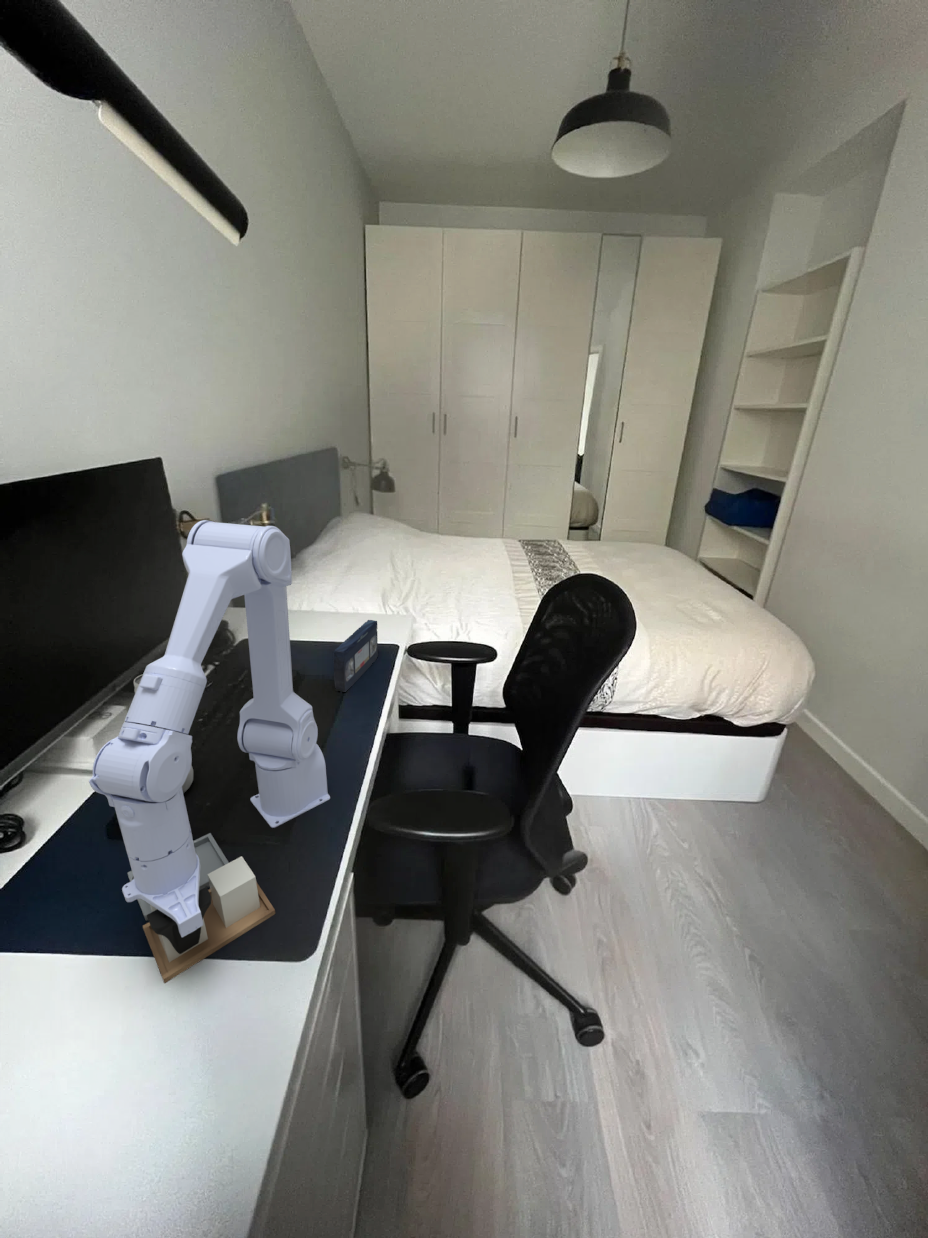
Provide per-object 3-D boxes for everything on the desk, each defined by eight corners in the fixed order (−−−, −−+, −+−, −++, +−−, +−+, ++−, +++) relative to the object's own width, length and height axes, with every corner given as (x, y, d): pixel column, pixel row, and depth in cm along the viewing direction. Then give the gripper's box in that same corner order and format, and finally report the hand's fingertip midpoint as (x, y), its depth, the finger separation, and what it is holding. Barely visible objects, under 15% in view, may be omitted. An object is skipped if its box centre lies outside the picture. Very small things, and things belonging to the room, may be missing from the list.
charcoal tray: (211, 839, 71) (210, 832, 71) (233, 875, 66) (232, 868, 66) (129, 879, 65) (127, 872, 64) (146, 923, 59) (144, 916, 59)
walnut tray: (248, 874, 66) (247, 868, 66) (275, 916, 61) (274, 910, 61) (144, 932, 58) (142, 926, 58) (165, 986, 53) (163, 979, 53)
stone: (246, 886, 64) (241, 856, 62) (260, 907, 62) (255, 876, 60) (213, 905, 62) (207, 874, 60) (226, 928, 59) (220, 896, 57)
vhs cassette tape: (345, 694, 109) (343, 652, 105) (332, 692, 110) (330, 650, 106) (380, 658, 126) (379, 620, 122) (369, 656, 126) (367, 619, 123)
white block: (195, 915, 60) (189, 884, 58) (207, 939, 58) (201, 907, 56) (158, 936, 58) (149, 904, 56) (169, 962, 55) (160, 930, 53)
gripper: (97, 818, 54) (124, 909, 59) (133, 910, 45) (161, 1009, 50) (170, 789, 59) (189, 875, 64) (216, 866, 49) (234, 961, 54)
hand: (181, 931), depth 57 cm, fingers closed on white block, 4 cm apart
